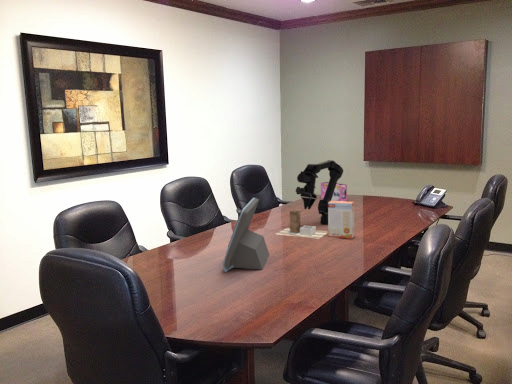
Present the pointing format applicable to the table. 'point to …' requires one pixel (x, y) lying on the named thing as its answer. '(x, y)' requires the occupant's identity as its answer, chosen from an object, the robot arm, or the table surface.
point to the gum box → (335, 192)
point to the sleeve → (308, 230)
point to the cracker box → (341, 219)
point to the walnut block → (295, 221)
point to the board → (316, 235)
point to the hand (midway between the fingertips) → (307, 209)
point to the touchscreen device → (246, 243)
